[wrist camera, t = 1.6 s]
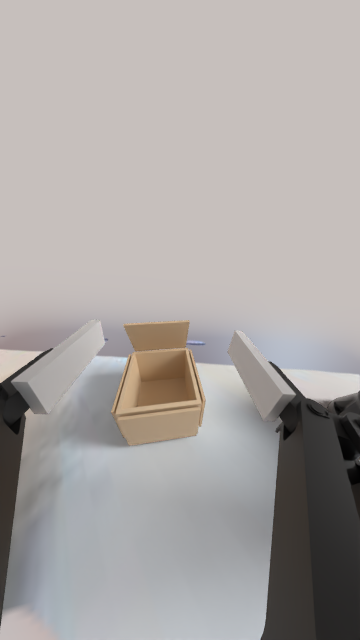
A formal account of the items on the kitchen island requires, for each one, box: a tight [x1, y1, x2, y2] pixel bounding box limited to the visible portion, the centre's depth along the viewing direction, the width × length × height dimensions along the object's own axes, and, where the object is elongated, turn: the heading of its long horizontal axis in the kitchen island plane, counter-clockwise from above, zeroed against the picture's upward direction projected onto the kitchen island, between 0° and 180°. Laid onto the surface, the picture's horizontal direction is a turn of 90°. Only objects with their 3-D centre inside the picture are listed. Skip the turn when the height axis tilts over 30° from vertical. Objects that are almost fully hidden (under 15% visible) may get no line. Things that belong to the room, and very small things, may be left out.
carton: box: [111, 348, 206, 446], centre depth 34 cm, size 18×17×13 cm
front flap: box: [124, 320, 189, 351], centre depth 34 cm, size 15×1×12 cm, turn 97°
